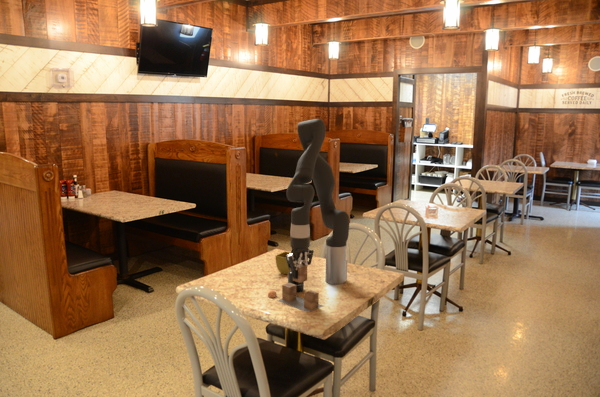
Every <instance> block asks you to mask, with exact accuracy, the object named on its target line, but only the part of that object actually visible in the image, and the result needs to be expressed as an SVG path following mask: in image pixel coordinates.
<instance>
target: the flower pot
mask: <svg viewBox="0 0 600 397" xmlns="http://www.w3.org/2000/svg"><path fill="white" fill-rule="evenodd" d="M290 254H291V251H283V252H281V253H279V254H278V253H277V254H276V255H275V257H274V258H275V265H276V268H277V270H278V271H279V273H280V274H284V275H287V276H288V273H289V272H290V271H291V270H290V268H288V264H287V260H286V255H290ZM295 261H296V260H295ZM296 262H297V261H296Z"/></svg>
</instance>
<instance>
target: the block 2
mask: <svg viewBox="0 0 600 397" xmlns="http://www.w3.org/2000/svg"><path fill="white" fill-rule="evenodd" d="M319 294H320V292H318V291H315V290H312V289H310V290H307V291H304V292H303V299H304V308H307V309H310V310H313V309H315V310H317V309H316V308H318V306H319V304H320V303H319V298H320V297H319V296H320V295H319ZM318 309H319V308H318ZM313 311H314V310H313Z"/></svg>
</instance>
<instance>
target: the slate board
mask: <svg viewBox="0 0 600 397" xmlns="http://www.w3.org/2000/svg"><path fill="white" fill-rule="evenodd" d="M277 302H279V303H282V304H285V305H287V306H290V307H292V308H295V309H298V310H301V311H303V312H306V313H310V312H313V311H315V310H317V309H320V308H322V307H324V305H323V304H320V303H319V306H318V308H316V309H313V310H310V309H307V308H304V297H301V296H298V295H296V299H295V300H293V301H290V302H288V301H286V300H283V299H282V298H281V299H278V300H277Z"/></svg>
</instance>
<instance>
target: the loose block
mask: <svg viewBox="0 0 600 397" xmlns="http://www.w3.org/2000/svg"><path fill="white" fill-rule="evenodd" d="M295 267H296V265H295ZM293 281H296V282H299V283H301V282H304V283H305V282H307V281H308V267H307V266H306V265H303V264H301V263H300V264H299V267H298V279H294V278H293Z"/></svg>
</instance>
